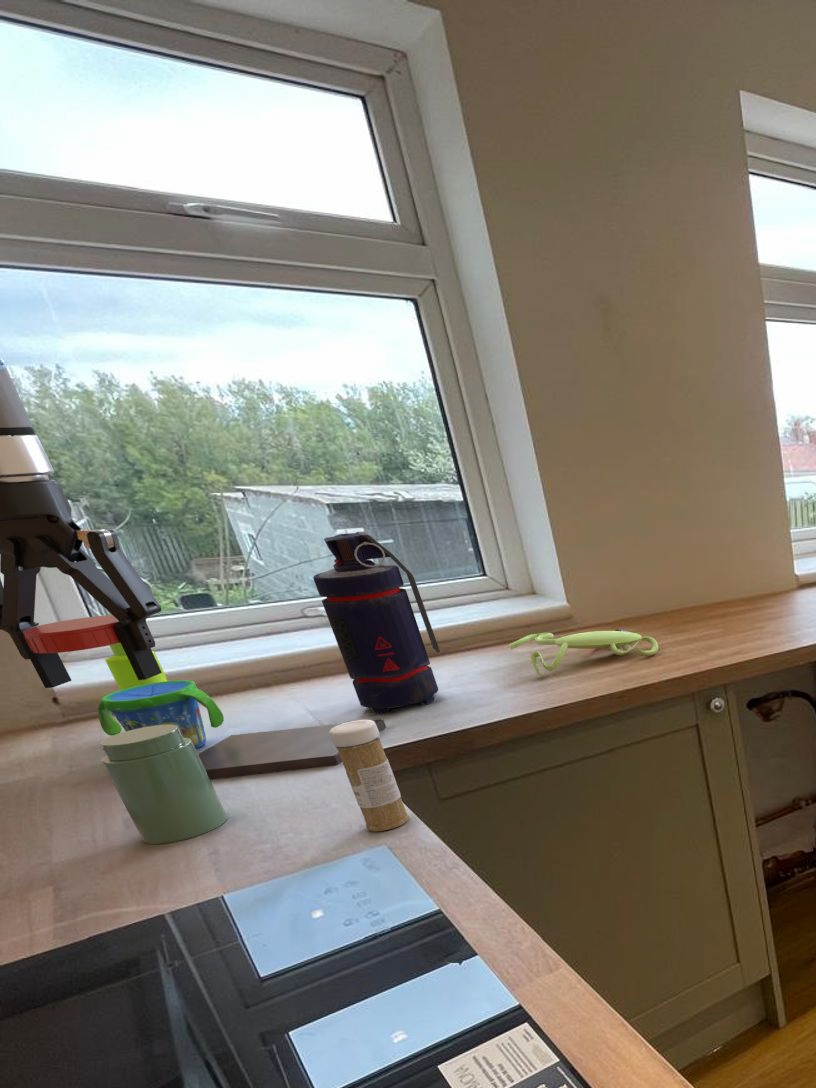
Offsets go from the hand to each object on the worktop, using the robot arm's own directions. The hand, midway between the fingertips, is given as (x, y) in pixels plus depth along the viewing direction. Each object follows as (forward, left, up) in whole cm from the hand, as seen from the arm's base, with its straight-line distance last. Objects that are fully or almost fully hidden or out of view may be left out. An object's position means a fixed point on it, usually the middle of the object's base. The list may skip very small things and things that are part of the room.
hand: (104, 680), depth 96 cm
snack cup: (-20, +33, -20) cm, 43 cm away
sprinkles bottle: (+27, -8, -20) cm, 35 cm away
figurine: (+34, +66, -20) cm, 77 cm away
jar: (+1, -1, -20) cm, 20 cm away
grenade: (+8, +47, -20) cm, 52 cm away
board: (-1, +25, -20) cm, 32 cm away
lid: (0, 0, +6) cm, 6 cm away
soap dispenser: (-29, +46, -20) cm, 58 cm away
